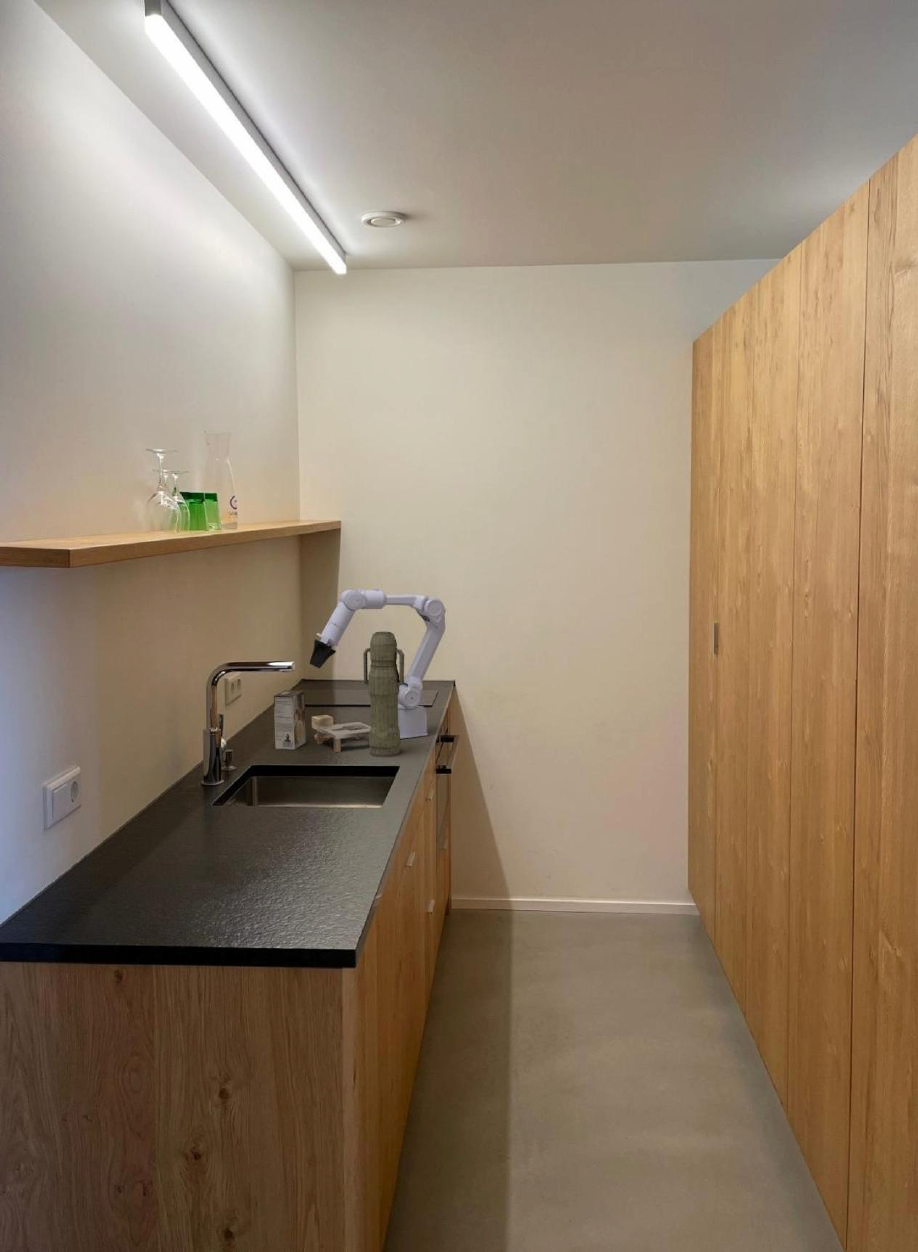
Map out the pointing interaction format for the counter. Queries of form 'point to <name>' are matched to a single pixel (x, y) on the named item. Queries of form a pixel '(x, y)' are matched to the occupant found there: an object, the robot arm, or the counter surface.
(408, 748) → the counter surface
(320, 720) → the peg
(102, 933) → the counter surface
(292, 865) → the counter surface
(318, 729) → the keyhole stand
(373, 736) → the thermos
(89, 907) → the counter surface
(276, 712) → the coffee box
